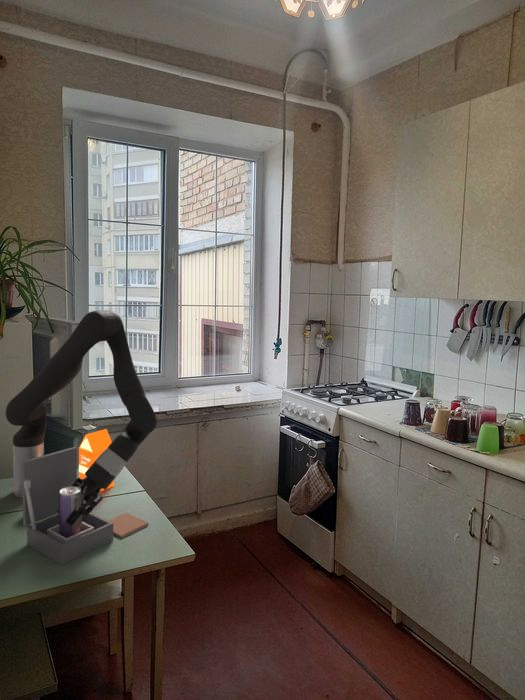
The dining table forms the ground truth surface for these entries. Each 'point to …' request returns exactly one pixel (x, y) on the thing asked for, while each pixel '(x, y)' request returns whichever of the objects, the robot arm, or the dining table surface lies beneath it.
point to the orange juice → (92, 451)
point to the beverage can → (69, 511)
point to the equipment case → (57, 508)
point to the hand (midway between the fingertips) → (64, 518)
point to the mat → (126, 524)
